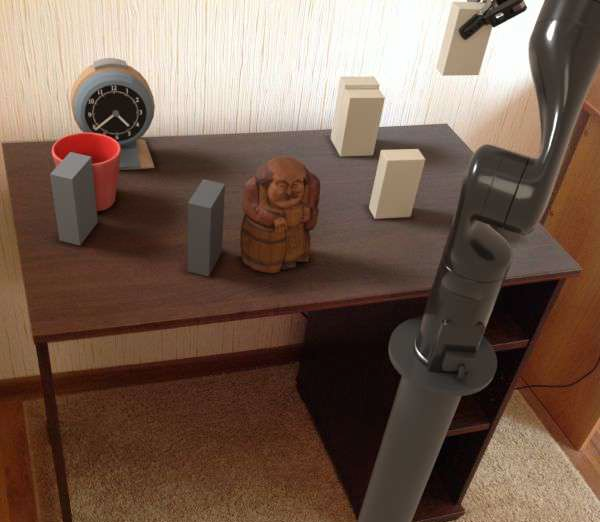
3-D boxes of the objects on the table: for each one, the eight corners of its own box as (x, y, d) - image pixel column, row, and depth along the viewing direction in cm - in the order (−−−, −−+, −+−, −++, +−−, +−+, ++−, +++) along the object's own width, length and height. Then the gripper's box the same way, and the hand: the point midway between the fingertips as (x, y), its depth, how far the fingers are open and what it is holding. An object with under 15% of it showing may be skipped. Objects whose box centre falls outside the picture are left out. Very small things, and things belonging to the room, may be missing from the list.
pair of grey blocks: (208, 276, 119) (211, 208, 110) (59, 240, 121) (49, 170, 111) (221, 251, 123) (225, 184, 114) (78, 217, 125) (69, 148, 116)
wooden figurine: (253, 279, 120) (261, 178, 106) (235, 256, 123) (242, 156, 110) (316, 263, 124) (332, 165, 111) (298, 242, 128) (311, 144, 115)
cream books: (410, 217, 137) (427, 152, 128) (374, 219, 135) (389, 154, 126) (362, 137, 155) (374, 76, 146) (330, 138, 153) (339, 76, 144)
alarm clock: (80, 172, 134) (69, 74, 122) (73, 144, 141) (62, 48, 128) (160, 167, 139) (157, 72, 126) (150, 140, 145) (147, 47, 132)
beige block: (442, 75, 130) (459, 8, 122) (435, 68, 132) (452, 1, 124) (478, 75, 132) (497, 9, 124) (471, 67, 134) (489, 2, 126)
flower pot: (52, 187, 130) (45, 134, 123) (115, 179, 134) (112, 128, 127) (65, 221, 124) (58, 168, 117) (131, 212, 128) (128, 160, 121)
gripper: (516, -81, 123) (430, -3, 128) (558, -51, 114) (464, 32, 119) (533, -44, 128) (450, 30, 134) (575, -13, 119) (484, 65, 125)
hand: (457, 30), depth 127 cm, fingers closed on beige block, 3 cm apart
